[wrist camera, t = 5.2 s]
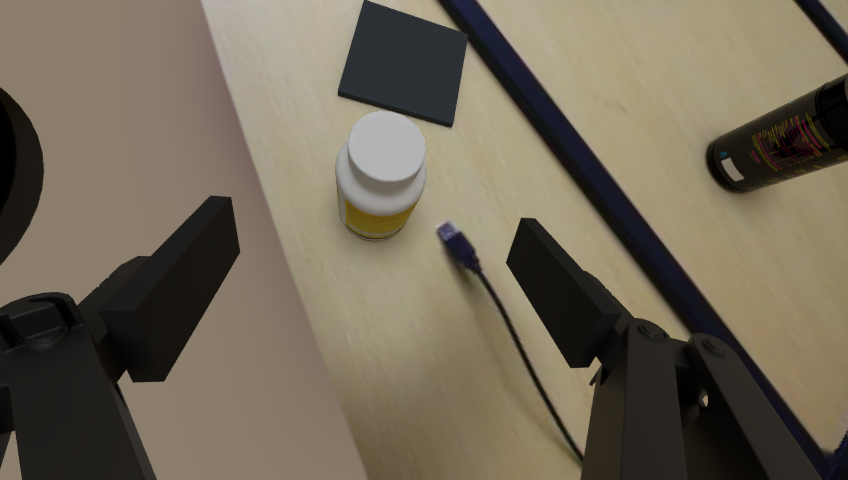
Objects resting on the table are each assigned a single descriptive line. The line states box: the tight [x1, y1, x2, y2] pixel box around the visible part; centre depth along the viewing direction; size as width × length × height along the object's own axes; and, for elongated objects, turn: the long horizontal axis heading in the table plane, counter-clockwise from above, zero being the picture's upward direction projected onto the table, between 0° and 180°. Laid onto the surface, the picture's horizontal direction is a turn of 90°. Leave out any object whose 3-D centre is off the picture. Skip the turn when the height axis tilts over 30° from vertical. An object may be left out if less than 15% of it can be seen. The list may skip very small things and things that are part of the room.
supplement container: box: [708, 73, 848, 192], centre depth 30 cm, size 7×7×10 cm
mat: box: [338, 0, 468, 127], centre depth 29 cm, size 10×10×1 cm
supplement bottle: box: [335, 111, 427, 241], centre depth 21 cm, size 5×5×10 cm
